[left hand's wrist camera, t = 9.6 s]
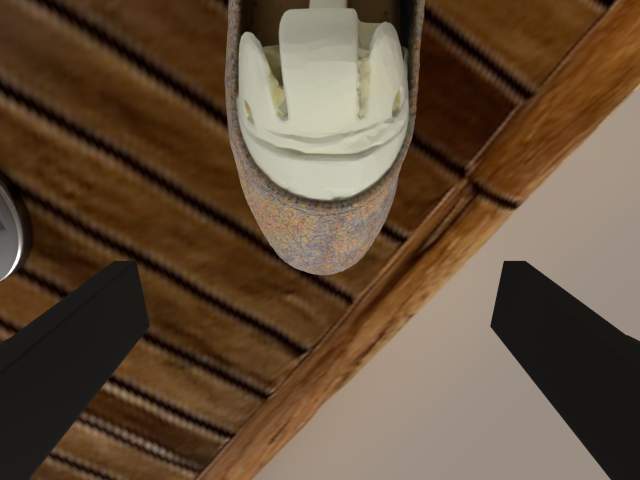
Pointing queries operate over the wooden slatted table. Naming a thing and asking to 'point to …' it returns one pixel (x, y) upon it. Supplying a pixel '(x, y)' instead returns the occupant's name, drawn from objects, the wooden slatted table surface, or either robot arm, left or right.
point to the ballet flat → (321, 119)
